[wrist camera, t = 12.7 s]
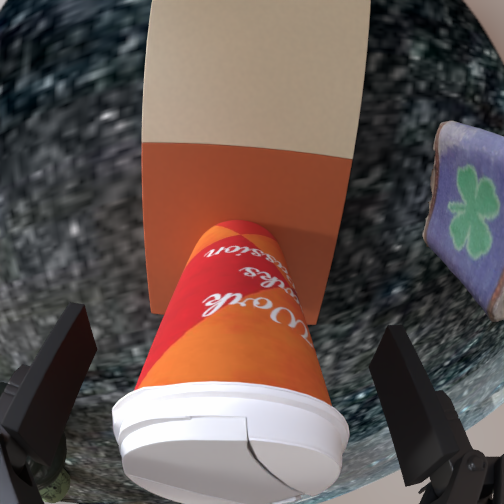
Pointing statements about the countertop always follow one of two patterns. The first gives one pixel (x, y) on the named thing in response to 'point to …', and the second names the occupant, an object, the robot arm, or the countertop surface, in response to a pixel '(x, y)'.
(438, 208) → the flask
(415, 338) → the countertop surface
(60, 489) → the mug
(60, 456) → the squash
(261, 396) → the paper cup
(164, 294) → the board
